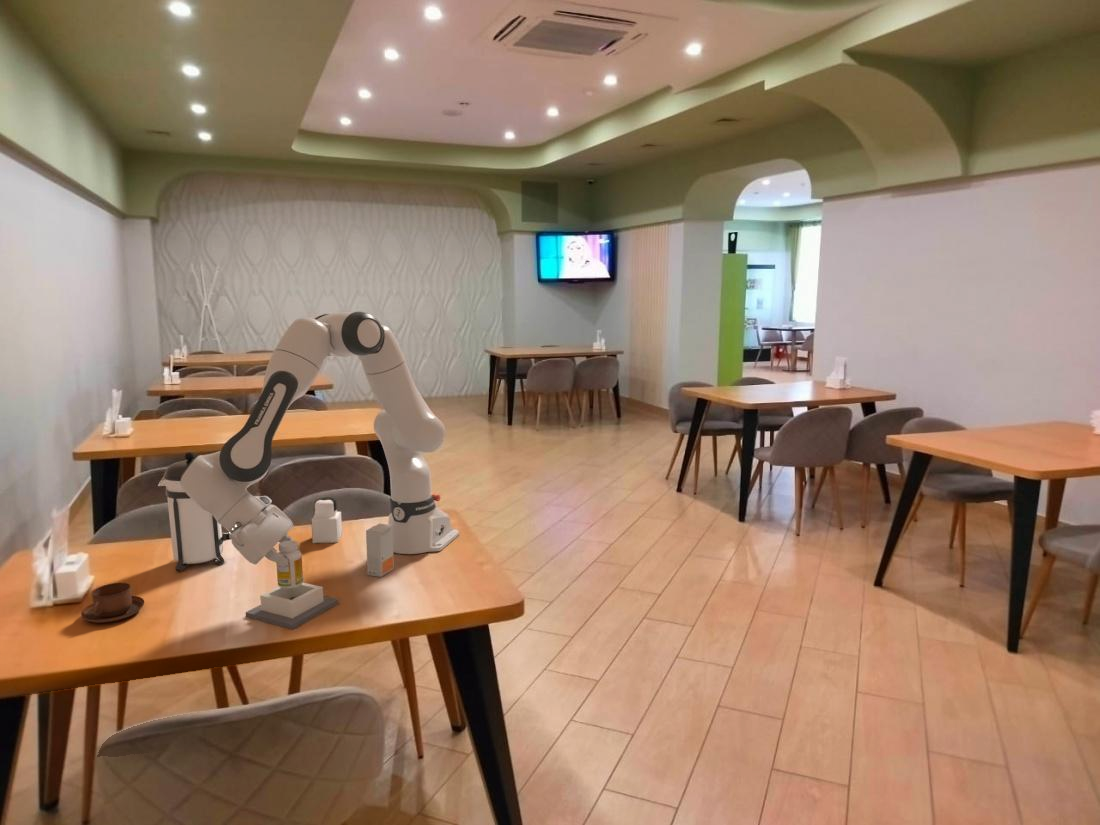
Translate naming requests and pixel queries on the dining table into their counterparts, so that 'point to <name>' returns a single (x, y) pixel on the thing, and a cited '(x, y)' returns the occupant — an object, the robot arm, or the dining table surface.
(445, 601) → the dining table surface
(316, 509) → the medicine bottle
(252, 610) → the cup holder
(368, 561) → the skincare box
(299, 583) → the supplement bottle
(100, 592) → the cup and saucer
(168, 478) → the coffee press
